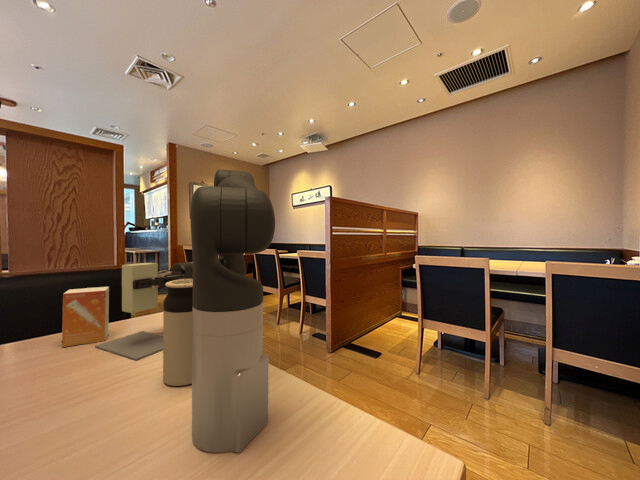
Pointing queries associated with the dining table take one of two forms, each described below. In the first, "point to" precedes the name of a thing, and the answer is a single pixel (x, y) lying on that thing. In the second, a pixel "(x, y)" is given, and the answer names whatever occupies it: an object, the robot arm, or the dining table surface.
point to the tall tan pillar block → (140, 297)
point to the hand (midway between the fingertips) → (128, 284)
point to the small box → (85, 316)
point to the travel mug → (178, 333)
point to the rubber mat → (134, 345)
